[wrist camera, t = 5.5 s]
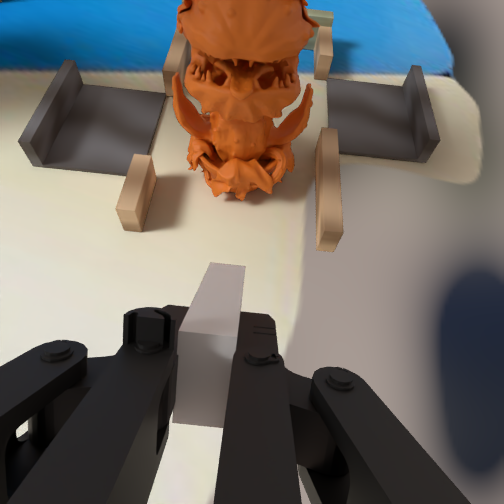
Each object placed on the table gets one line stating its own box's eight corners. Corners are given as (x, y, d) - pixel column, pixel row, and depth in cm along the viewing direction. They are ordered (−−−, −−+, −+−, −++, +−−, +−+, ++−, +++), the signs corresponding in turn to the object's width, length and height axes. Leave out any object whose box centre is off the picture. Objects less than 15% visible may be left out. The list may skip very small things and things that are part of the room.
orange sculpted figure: (172, 213, 33) (127, -18, 17) (187, 128, 38) (164, -103, 23) (297, 222, 33) (361, 5, 18) (294, 137, 39) (342, -84, 23)
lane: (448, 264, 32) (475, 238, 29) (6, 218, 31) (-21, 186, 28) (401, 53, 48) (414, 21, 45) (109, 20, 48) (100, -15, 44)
